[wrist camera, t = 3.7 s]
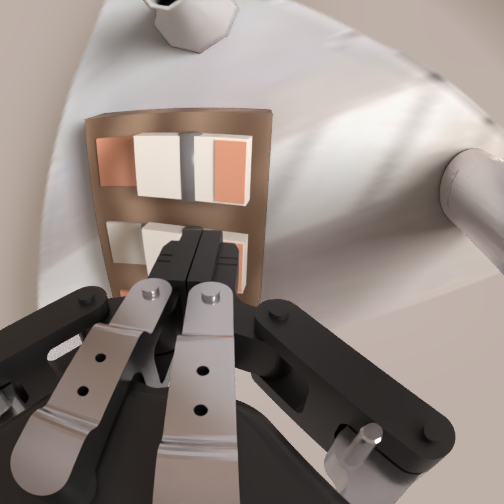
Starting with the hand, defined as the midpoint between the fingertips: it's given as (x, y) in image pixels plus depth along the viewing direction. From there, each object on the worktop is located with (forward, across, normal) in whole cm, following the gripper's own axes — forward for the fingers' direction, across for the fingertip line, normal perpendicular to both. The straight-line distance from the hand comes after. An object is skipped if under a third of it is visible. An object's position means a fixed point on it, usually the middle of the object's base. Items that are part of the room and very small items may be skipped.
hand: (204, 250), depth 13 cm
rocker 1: (+12, +3, 0) cm, 13 cm away
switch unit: (+18, +5, +8) cm, 21 cm away
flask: (+19, +4, -13) cm, 23 cm away
